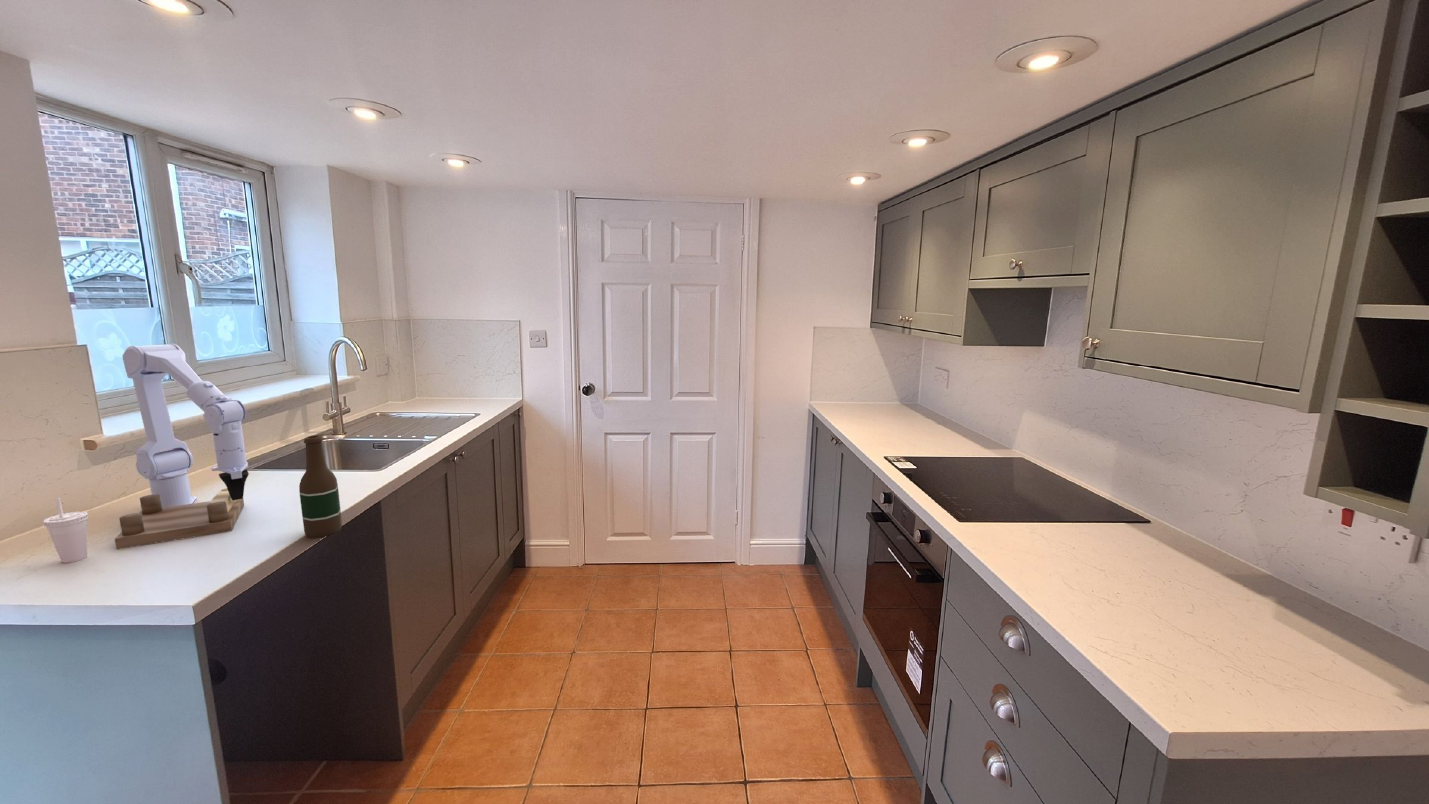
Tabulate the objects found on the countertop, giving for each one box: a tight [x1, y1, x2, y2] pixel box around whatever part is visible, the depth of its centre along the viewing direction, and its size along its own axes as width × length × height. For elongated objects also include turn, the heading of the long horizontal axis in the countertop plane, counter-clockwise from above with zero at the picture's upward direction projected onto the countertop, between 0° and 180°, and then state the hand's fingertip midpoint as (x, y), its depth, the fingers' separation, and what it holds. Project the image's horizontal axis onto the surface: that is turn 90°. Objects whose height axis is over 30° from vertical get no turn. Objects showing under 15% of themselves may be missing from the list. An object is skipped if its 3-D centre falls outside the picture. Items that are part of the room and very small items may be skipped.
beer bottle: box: [298, 435, 343, 539], centre depth 135 cm, size 8×8×24 cm
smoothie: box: [42, 497, 90, 564], centre depth 120 cm, size 6×6×14 cm
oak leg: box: [209, 487, 236, 512], centre depth 145 cm, size 12×3×3 cm, turn 30°
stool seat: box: [114, 494, 245, 550], centre depth 139 cm, size 20×20×6 cm
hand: (237, 499), depth 145 cm, fingers closed
